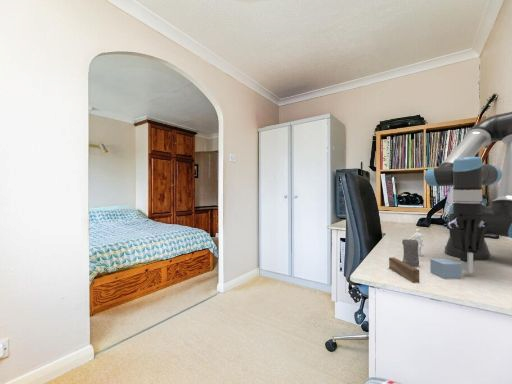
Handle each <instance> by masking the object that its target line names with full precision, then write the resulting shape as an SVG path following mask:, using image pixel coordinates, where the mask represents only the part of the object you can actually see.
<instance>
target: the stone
mask: <svg viewBox="0 0 512 384" xmlns="http://www.w3.org/2000/svg"><path fill="white" fill-rule="evenodd" d="M407 239H408V240H407ZM407 239H404V238H403V239H402V245H403V246H402V248H403V255H402V256H403V257H402V258H403V259H402V262H404V263H406V264H408V265H410V266H412V267H414V268H417V267H420V259H419V254H418V241H417V240H415V239H410V238H407Z"/></svg>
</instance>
